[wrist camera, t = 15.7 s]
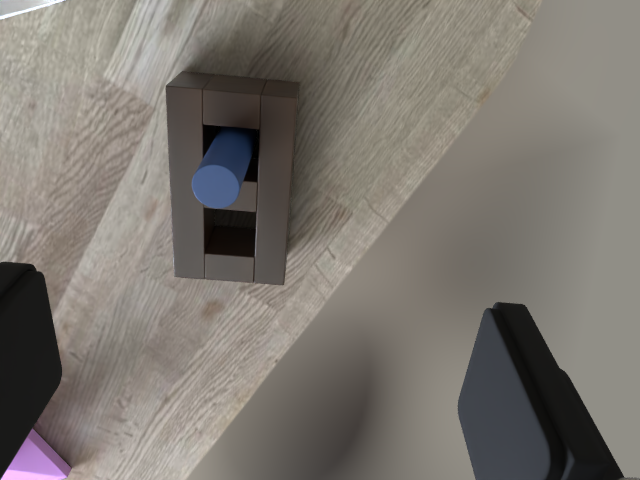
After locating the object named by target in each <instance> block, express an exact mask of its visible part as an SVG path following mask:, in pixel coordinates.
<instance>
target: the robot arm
mask: <svg viewBox="0 0 640 480" xmlns="http://www.w3.org/2000/svg"><path fill="white" fill-rule="evenodd" d="M61 377H62V365H61V360H60V355H59V350H58V345H57V340H56V335H55V329H54V324H53V319H52V314H51V309H50V304H49V298H48V293H47V288H46V283H45V278H44V275H43V274H42V272H39V271H36V268H35V267H34V265H32V264H25V263H13V262H1V263H0V480H1V478H2V477H3V475H4V474H5V472H6V470H7V469H8V467H9V465H10V464H11V462H12V461H13V459H14V457H15V456H16V454H17V453H18V451H19V449H20V448H21V446H22V444H23V443H24V441H25V440H26V438H27V436H28V435H29V433H30V431H31V430H32V428H33V427H34V425H35V423H36V422H37V420H38V418H39V417H40V415H41V414H42V412H43V410H44V409H45V407H46V405H47V404H48V402H49V401H50V399H51V397H52V396H53V394H54V393H55V391H56V389H57V388H58V386H59V384H60V381H61ZM458 415H459V419H460V423H461V427H462V430H463V434H464V438H465V442H466V445H467V449H468V452H469V456H470V460H471V463H472V467H473V471H474V475H475V478H476V480H640V479H639V478H624V476H623V474H622V472H621V470H620V468H619V467H618V465H617V463H616V461H615V459H614V458H613V456H612V454H611V452H610V450H609V449H608V447H607V445H606V443H605V441H604V440H603V438H602V436H601V434H600V432H599V430H598V429H597V427H596V425H595V424H594V422H593V420H592V418H591V416H590V414H589V412H588V410H587V409H586V407H585V405H584V404H583V401H582V400H581V398H580V396H579V394H578V392H577V390H576V389H575V387H574V385H573V383H572V382H571V380H570V378H569V377H568V375H567V374H566V372H565V371H563V370H562V369H560V368H559V366H558V365H557V363H556V361H555V359H554V357H553V355H552V353H551V352H550V350H549V348H548V346H547V344H546V343H545V341H544V339H543V337H542V335H541V333H540V331H539V329H538V328H537V326H536V324H535V322H534V320H533V318H532V316H531V315H530V313H529V311H528V309H527V307H526V306H525V305H523V304H513V303H501V302H497V303H495V304H494V306H493V308H492V309H491V308H487V309H486V310H485V311H484V314H483V317H482V320H481V324H480V328H479V331H478V334H477V338H476V341H475V344H474V348H473V351H472V355H471V358H470V362H469V365H468V369H467V372H466V376H465V379H464V383H463V386H462V389H461V393H460V396H459V400H458Z"/></svg>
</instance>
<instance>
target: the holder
mask: <svg viewBox="0 0 640 480" xmlns="http://www.w3.org/2000/svg"><path fill="white" fill-rule="evenodd" d="M299 86H300V83H299V82H292V81H282V80H271V79H268V80H267V79H260V78H250V77H239V76H228V75H218V74H216V75H215V74H208V73H197V72H186V71H182V72H181V73H180V74H179V75H177V76H176V77H175V78H174V79H173V80H172V81H171V82H170V83H168V84H167V85H166V105H167V127H168V149H169V171H170V193H171V215H172V237H173V258H174V277H181V278H194V279H208V280H221V281H234V282H247V283H261V284H274V285H284V280H285V271H286V262H287V252H288V238H289V224H290V210H291V197H292V183H293V169H294V155H295V141H296V127H297V113H298V99H299ZM215 126H226V127H237V128H248V129H260V134H259V159H255V158H251V159H250V162H249V165H248V168H247V171H246V174H245V177H244V180H243V183H242V186H241V189H240V192H239V195H238V197H237V199H236V200H235V202H234V203H232V204H231V205H229V206H227V207H224V208H212V207H208V206H206V205H204V204H203V203H201V202H200V201H199V200H198V199H197V198H196V196H195V194H194V192H193V189H192V179H193V176H194V174H195V172H196V171H197V169H198V167H199V165H200V163H201V162H202V160H203V158H204V156H205V155H206V153H207V151H208V149H209V147H210V146H211V144H212V142H213V140H214V138H215ZM215 209H225V210H237V211H249V212H256V211H257V212H256V229H255V228H242V227H230V226H218V225H216V226H215Z"/></svg>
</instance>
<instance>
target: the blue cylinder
mask: <svg viewBox="0 0 640 480" xmlns="http://www.w3.org/2000/svg"><path fill="white" fill-rule="evenodd" d="M257 138H258V132H257V129H248V128H237V127H226V126H221V128H220V130H219V131H218V133H217V135H216V137H215V138H214V140H213V142H212V144H211V146H210V147H209V149H208V151H207V153H206V155H205V156H204V158H203V160H202V162H201V163H200V165H199V167H198V169H197V171H196V172H195V174H194V176H193V179H192V189H193V192H194V194H195V196H196V198H197V199H198V200H199V201H200V202H201V203H203V204H204V205H206V206H208V207H212V208H224V207H227V206H229V205H231V204H232V203H234V202H235V200H236V199H237V197H238V195H239V192H240V189H241V186H242V183H243V180H244V177H245V174H246V171H247V168H248V165H249V162H250V159H251V156H252V153H253V150H254V147H255V144H256V141H257Z"/></svg>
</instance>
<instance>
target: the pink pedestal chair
mask: <svg viewBox="0 0 640 480" xmlns="http://www.w3.org/2000/svg"><path fill="white" fill-rule="evenodd" d="M71 469H72V468H71V467H70V466H69V465H68V464H67V463H66V462H65V461H64V460H63V459H62V458H61V457H60V456H59V455H58V454H57V453H56V452H55V451H54V450H53V449H52V448H51V447H50V446H49V445H48V444H47V443H46V442H45V441H44V440H43V439H42V438H41V437H40V436H39V435H38V434H37V432H36V431H35V430H34V429H33V428H32V430H31V431H30V433H29V435H28V436H27V438H26V440H25V441H24V443H23V444H22V446H21V448H20V449H19V451H18V453H17V454H16V456H15V457H14V459H13V461H12V462H11V464H10V465H9V467H8V469H7V470H6V472H5V474H4V475H3V477H2V478H1V480H60V479H64V478H67V477H68V475H69V473H70V471H71Z"/></svg>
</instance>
